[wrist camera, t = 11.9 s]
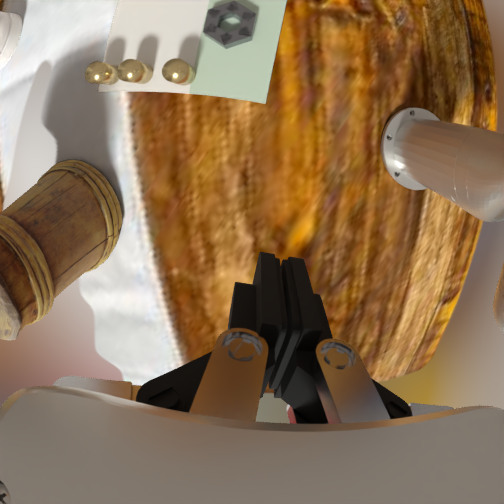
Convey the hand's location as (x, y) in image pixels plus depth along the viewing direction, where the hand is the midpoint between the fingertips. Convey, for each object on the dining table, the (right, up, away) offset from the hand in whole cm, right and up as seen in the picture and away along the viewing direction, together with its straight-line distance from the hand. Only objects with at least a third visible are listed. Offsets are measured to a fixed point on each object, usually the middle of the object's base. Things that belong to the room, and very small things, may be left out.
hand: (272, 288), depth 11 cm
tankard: (-31, +6, +30) cm, 44 cm away
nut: (-3, +30, +16) cm, 34 cm away
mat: (-9, +31, +17) cm, 37 cm away
